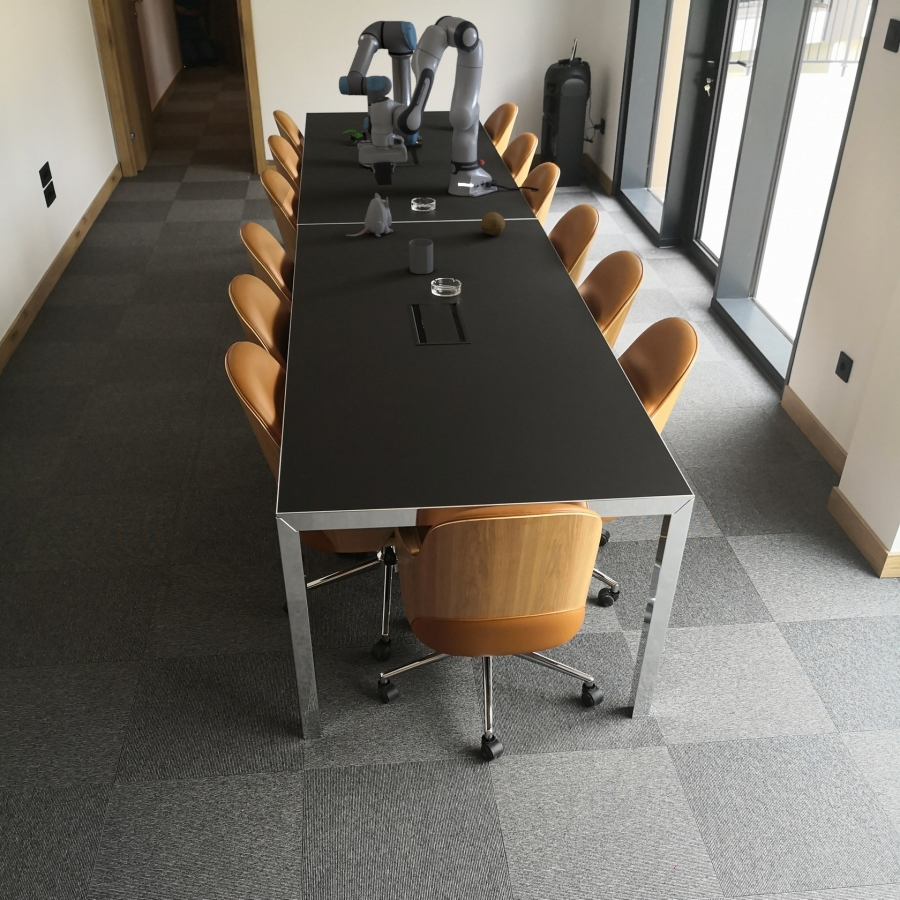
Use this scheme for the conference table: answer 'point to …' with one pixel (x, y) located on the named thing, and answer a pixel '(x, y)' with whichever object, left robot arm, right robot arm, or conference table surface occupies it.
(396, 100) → the left robot arm
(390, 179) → the bar
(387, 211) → the toy
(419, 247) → the cup
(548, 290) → the conference table surface
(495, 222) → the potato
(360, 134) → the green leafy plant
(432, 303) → the conference table surface
